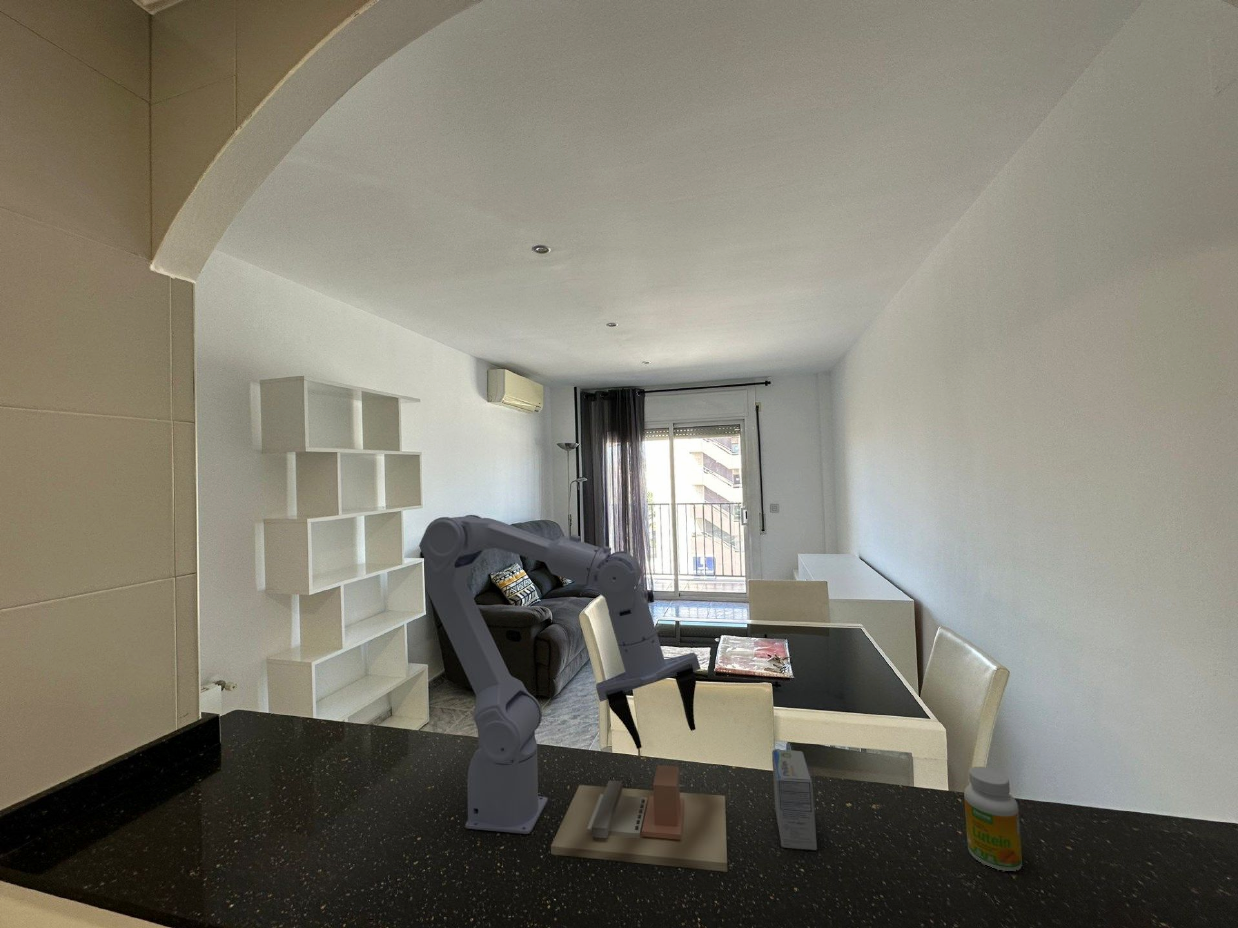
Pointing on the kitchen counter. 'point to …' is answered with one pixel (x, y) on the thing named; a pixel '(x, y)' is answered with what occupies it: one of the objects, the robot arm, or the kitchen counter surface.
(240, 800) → the kitchen counter surface
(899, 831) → the kitchen counter surface
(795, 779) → the medicine box
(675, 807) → the stub
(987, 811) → the supplement bottle
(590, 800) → the board
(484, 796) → the robot arm
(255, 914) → the kitchen counter surface
